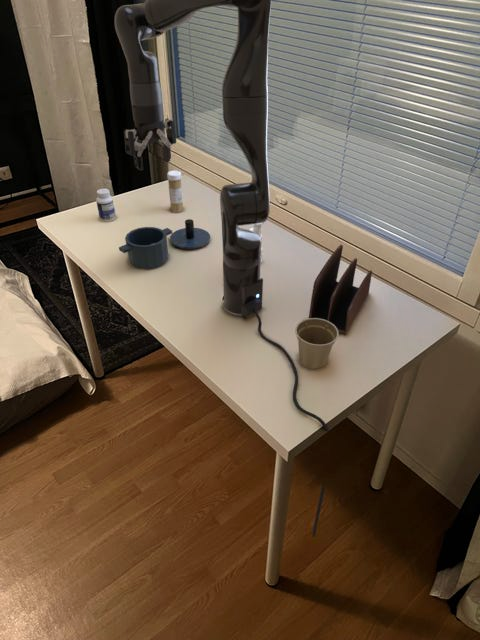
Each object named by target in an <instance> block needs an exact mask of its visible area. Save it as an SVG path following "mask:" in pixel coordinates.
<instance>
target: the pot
mask: <svg viewBox="0 0 480 640" xmlns="http://www.w3.org/2000/svg"><path fill="white" fill-rule="evenodd" d="M172 233H173V229H170V228H169V227H166V228H163V229H161V228H158V227H154V226H143V227H142V226H141V227H137V228H134V229H132V230H130V231H129V232H128V233H126V235H125V236H124V240H125V244H124V245H121V246H119V247H118V250H119V252H121V253H122V254H126V253H127V259H128V263H129V265H131V267H133V268H135V269H140V270H152V269H157V268H160V267H162V266H164V265H165V264H167V262H168V260H169V246H168V238H167V237H168V236H169V235H170V236H171V234H172ZM154 243H155V244H154Z"/></svg>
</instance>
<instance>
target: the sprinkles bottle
mask: <svg viewBox="0 0 480 640" xmlns="http://www.w3.org/2000/svg"><path fill="white" fill-rule="evenodd" d="M166 175H167V180H168V194H169V202H170V211H171V212H173V213H180V212H183V211H184V209H185V208H184V197H183V196H184V195H183V185H182V172H181V171H179V170H170V171H168V172H167V174H166Z"/></svg>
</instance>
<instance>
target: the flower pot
mask: <svg viewBox="0 0 480 640" xmlns="http://www.w3.org/2000/svg"><path fill="white" fill-rule="evenodd" d="M294 332H295V335H296V338H297V342H298V343H297V344H298V360H299V362H300V363H301V365H302V366H303V367H305V368H308V369H312V370H317V369H319V368H323V367H324V366H325V365H326V364H327V362H328V358H329V356H330V352H331V350H332V348H333V346H334V344H335V343H336V341H338V338H339V334H340V333H339V332H338V329H337V328H336V326H335V325H333V324H332V323H331V322H329V321H327V320H324V319H319V318H309V317H308V318H305V319H303V320H301V321H299V322H298V323H297V324H296V325H295V329H294Z"/></svg>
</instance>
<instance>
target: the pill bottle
mask: <svg viewBox="0 0 480 640" xmlns="http://www.w3.org/2000/svg"><path fill="white" fill-rule="evenodd" d="M110 194H111V192H110V189H108V188H105V187H104V188H99V189H97V191H96V195H97V197H96V198H95V201H96V207H97V212H98V217H99V220H100V221H103V222H110V221H113V220H115V219H116V209H115V204H114V198H113V196H112V195H110Z"/></svg>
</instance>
